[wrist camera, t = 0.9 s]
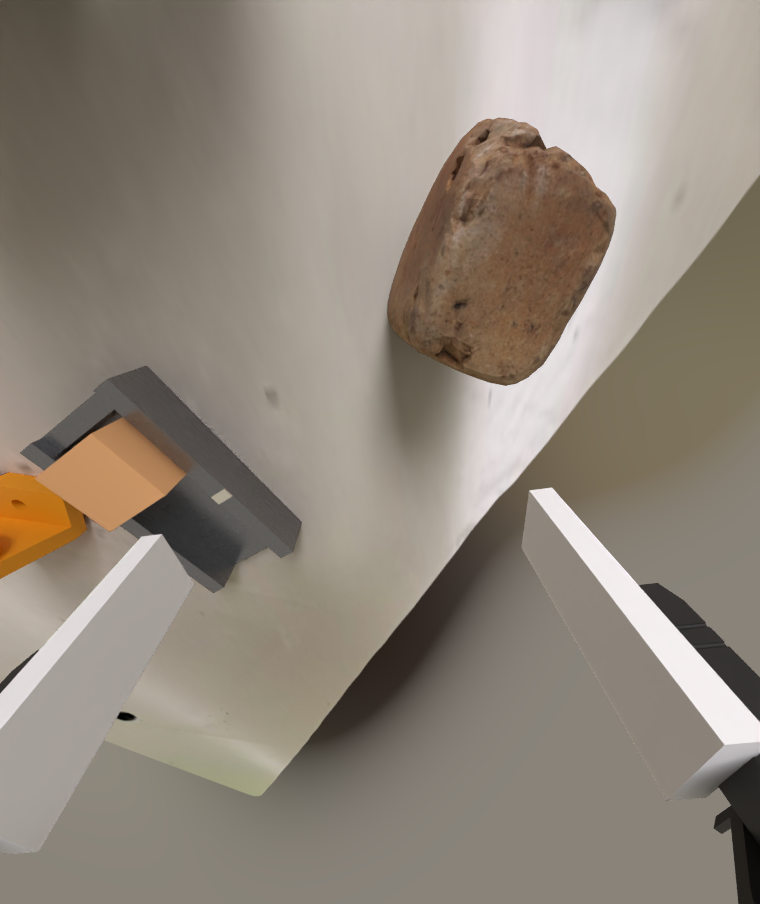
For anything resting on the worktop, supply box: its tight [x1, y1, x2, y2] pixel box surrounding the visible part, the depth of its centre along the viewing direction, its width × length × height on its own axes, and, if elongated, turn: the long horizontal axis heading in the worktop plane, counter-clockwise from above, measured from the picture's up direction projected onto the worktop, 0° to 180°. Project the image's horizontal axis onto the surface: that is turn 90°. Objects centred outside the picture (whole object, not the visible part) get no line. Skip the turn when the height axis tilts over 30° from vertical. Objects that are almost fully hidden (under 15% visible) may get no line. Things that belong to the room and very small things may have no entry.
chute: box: [20, 366, 302, 593], centre depth 37 cm, size 26×14×6 cm, turn 32°
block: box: [387, 118, 616, 386], centre depth 21 cm, size 11×8×20 cm
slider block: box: [34, 417, 186, 532], centre depth 33 cm, size 8×9×7 cm
